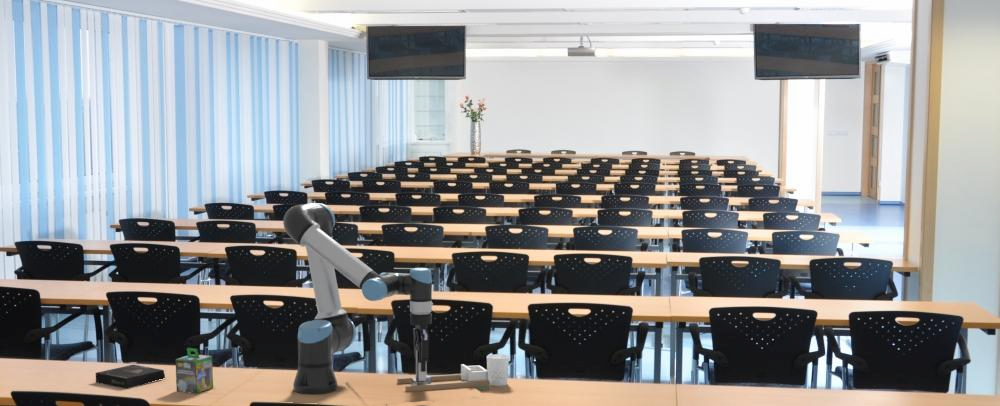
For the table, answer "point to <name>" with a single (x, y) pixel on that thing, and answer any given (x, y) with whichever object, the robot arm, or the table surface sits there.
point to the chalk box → (194, 372)
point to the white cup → (497, 369)
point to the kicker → (416, 380)
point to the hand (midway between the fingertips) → (421, 379)
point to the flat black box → (129, 376)
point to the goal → (473, 373)
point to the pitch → (476, 384)
